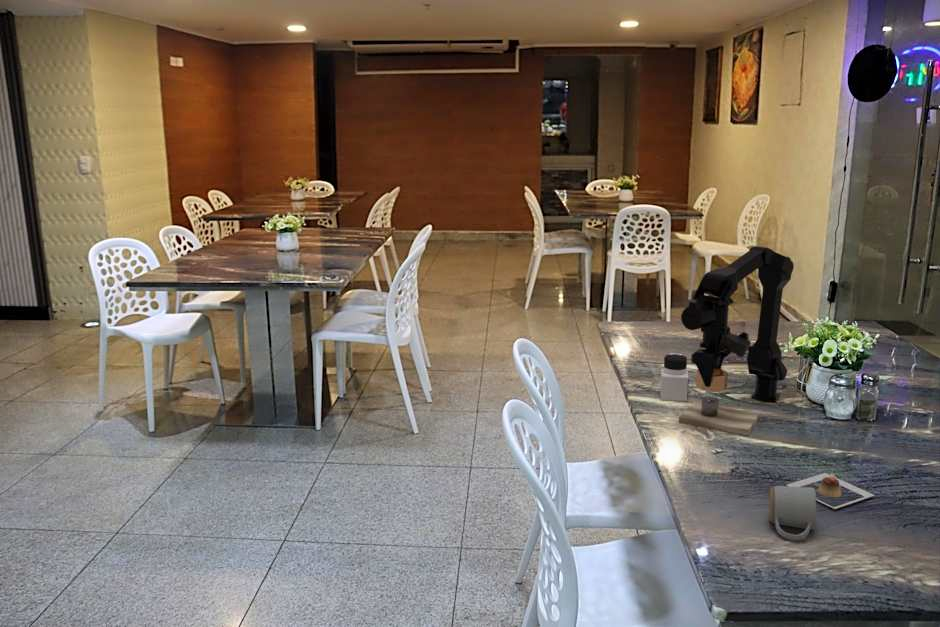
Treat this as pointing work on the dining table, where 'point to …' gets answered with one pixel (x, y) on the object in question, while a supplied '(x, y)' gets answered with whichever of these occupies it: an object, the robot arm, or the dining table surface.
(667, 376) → the medicine bottle
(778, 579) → the dining table surface
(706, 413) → the piston
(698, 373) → the ring
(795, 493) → the ceramic mug
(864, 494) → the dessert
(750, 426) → the piston stand
